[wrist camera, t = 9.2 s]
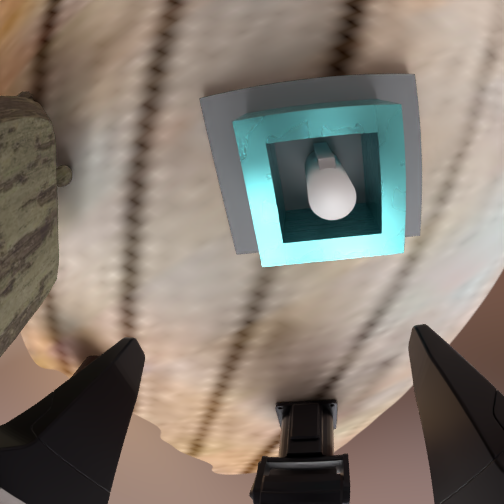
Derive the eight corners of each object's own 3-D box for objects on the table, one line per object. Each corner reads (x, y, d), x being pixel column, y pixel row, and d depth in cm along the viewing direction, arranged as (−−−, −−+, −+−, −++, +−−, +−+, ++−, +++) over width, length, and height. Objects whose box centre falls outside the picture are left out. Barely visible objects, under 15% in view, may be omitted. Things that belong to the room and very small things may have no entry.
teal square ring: (384, 219, 18) (403, 252, 14) (268, 230, 19) (262, 267, 16) (377, 99, 14) (401, 104, 11) (246, 113, 16) (232, 121, 12)
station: (415, 228, 19) (449, 280, 13) (239, 247, 21) (220, 304, 16) (408, 74, 14) (456, 74, 9) (204, 97, 16) (164, 105, 11)
